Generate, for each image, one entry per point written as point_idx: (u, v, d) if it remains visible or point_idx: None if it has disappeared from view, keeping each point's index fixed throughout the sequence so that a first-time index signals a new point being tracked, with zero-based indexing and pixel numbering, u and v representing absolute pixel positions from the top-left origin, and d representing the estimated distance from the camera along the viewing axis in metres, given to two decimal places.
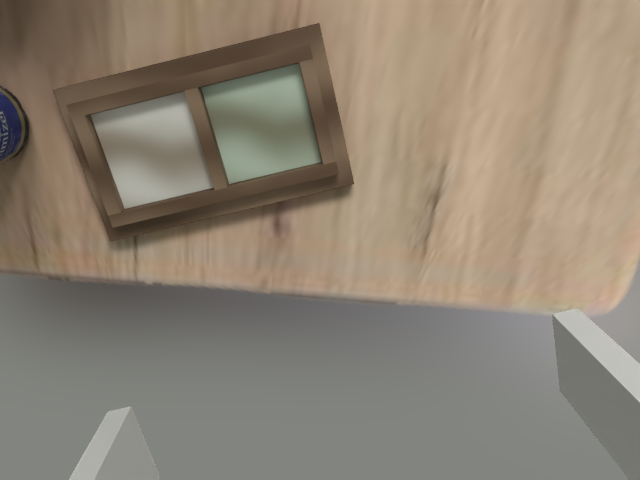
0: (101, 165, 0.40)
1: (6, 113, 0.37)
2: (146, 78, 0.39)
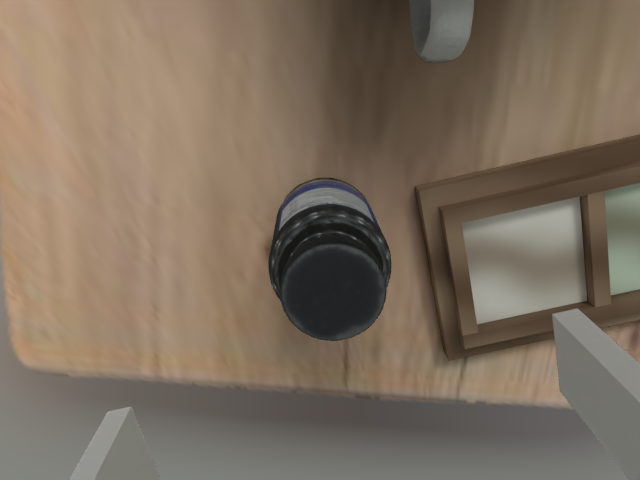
0: (468, 279, 0.33)
1: None
2: (534, 177, 0.32)
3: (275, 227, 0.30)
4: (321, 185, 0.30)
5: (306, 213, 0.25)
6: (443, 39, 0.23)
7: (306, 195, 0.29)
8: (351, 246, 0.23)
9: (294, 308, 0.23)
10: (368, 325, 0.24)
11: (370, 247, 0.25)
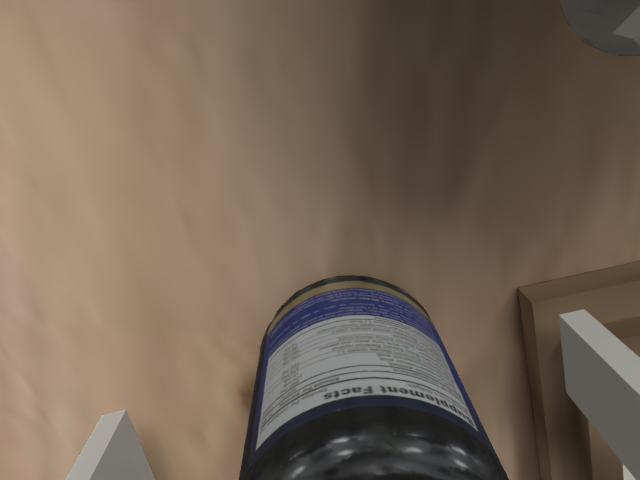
0: (618, 463, 0.17)
1: None
2: None
3: (253, 395, 0.14)
4: (347, 304, 0.15)
5: (321, 434, 0.10)
6: None
7: (318, 339, 0.14)
8: None
9: None
10: None
11: None
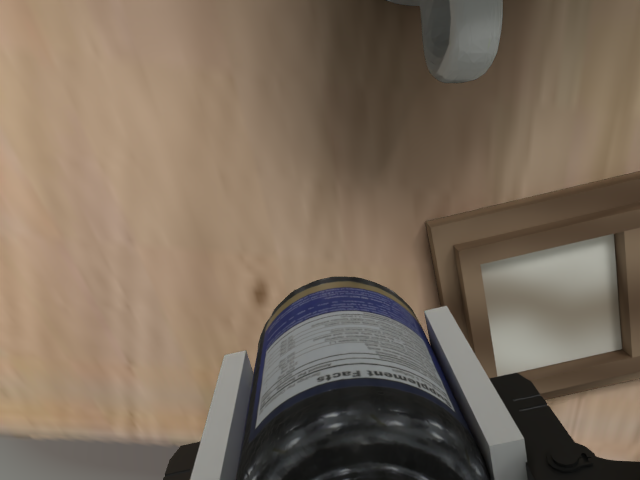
0: (487, 328, 0.28)
1: None
2: (561, 211, 0.28)
3: (252, 385, 0.16)
4: (339, 301, 0.16)
5: (314, 410, 0.11)
6: (465, 55, 0.19)
7: (312, 332, 0.15)
8: None
9: None
10: None
11: None
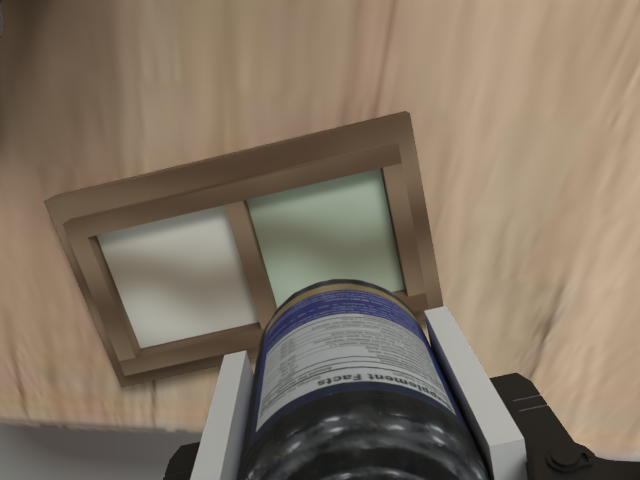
0: (110, 299, 0.29)
1: None
2: (171, 185, 0.28)
3: (253, 387, 0.16)
4: (339, 304, 0.16)
5: (315, 414, 0.11)
6: None
7: (312, 334, 0.15)
8: None
9: None
10: None
11: None
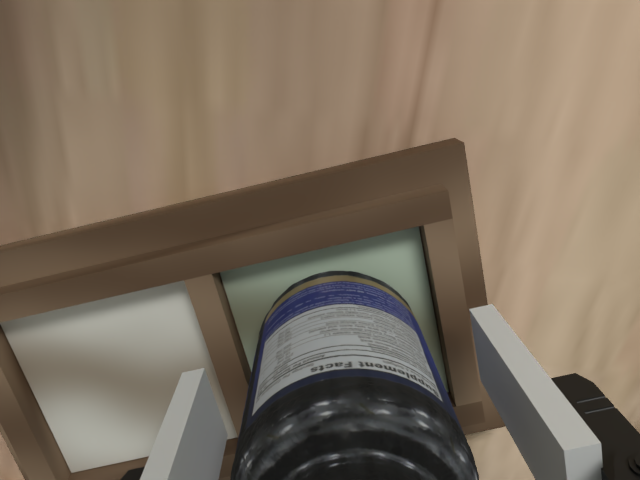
0: (20, 413, 0.20)
1: None
2: (107, 249, 0.19)
3: (251, 374, 0.16)
4: (335, 295, 0.17)
5: (306, 399, 0.12)
6: None
7: (308, 324, 0.15)
8: None
9: None
10: None
11: (443, 479, 0.12)
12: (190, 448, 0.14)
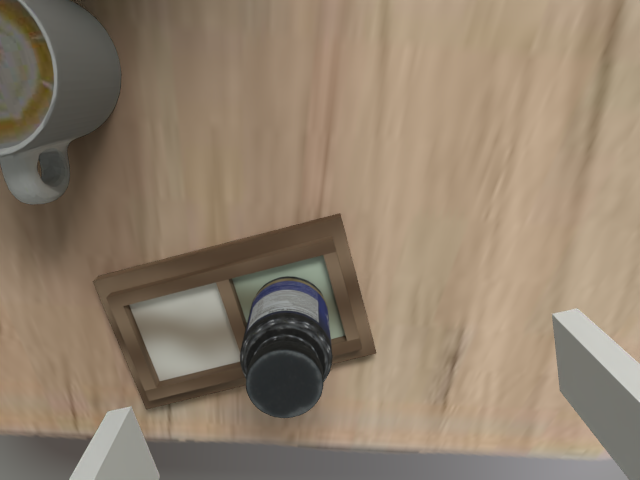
0: (138, 348, 0.42)
1: (327, 314, 0.39)
2: (180, 269, 0.41)
3: None
4: (283, 286, 0.39)
5: (266, 320, 0.34)
6: (18, 196, 0.33)
7: (270, 298, 0.37)
8: (295, 351, 0.31)
9: (256, 395, 0.32)
10: (311, 406, 0.32)
11: (314, 345, 0.34)
12: None
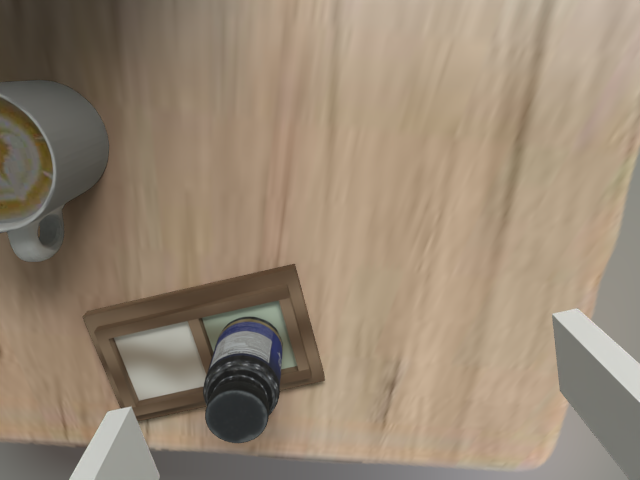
0: (121, 373, 0.49)
1: (280, 351, 0.47)
2: (157, 308, 0.48)
3: (212, 356, 0.46)
4: (243, 327, 0.46)
5: (224, 361, 0.41)
6: (21, 257, 0.40)
7: (230, 339, 0.45)
8: (245, 391, 0.39)
9: (213, 425, 0.39)
10: (258, 434, 0.40)
11: (263, 383, 0.41)
12: None
